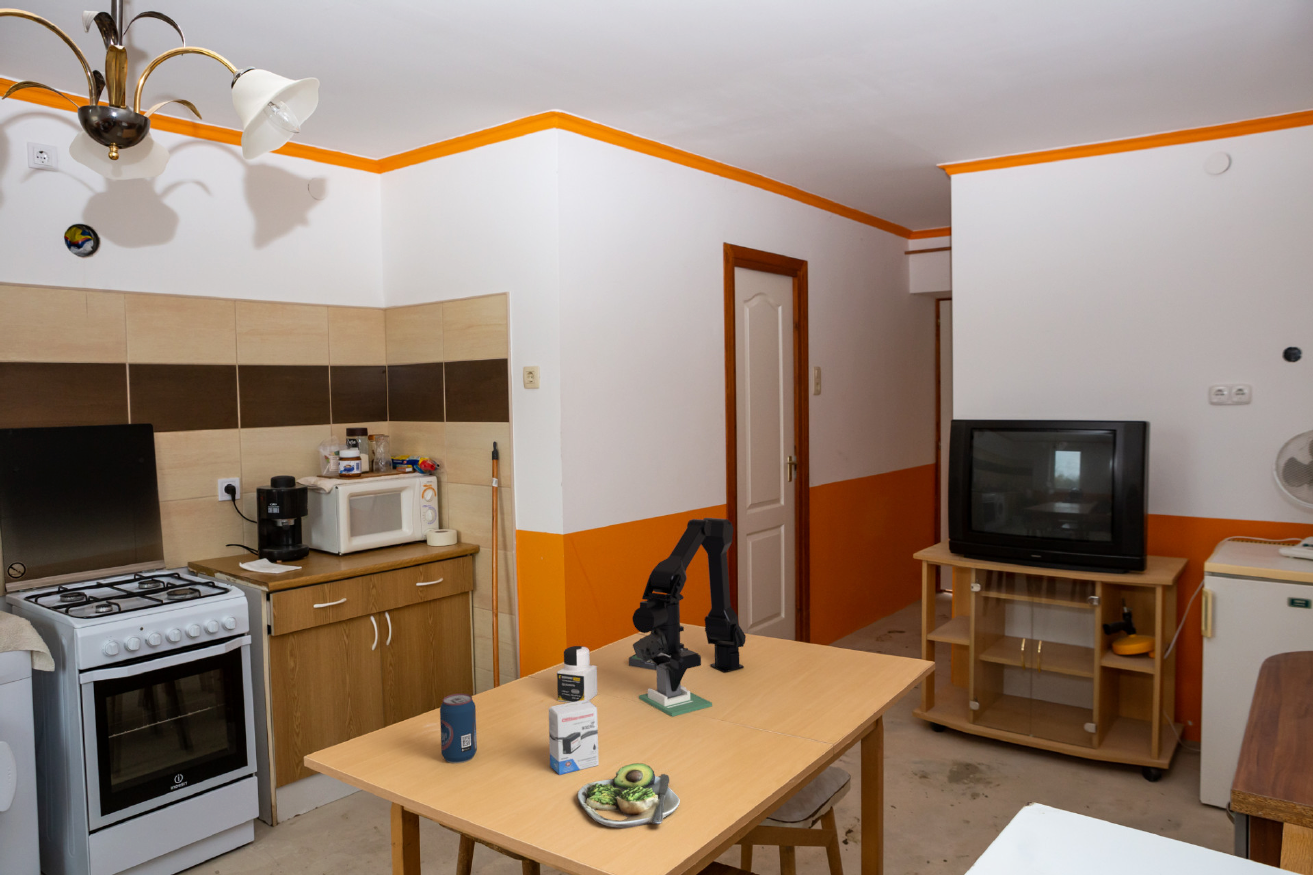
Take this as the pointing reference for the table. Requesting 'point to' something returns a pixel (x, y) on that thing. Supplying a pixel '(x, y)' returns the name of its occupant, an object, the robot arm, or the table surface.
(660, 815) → the avocado toast plate
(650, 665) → the disk drive
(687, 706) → the board
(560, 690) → the medicine bottle
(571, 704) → the ink box
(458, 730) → the soda can
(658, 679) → the plug
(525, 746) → the table surface
